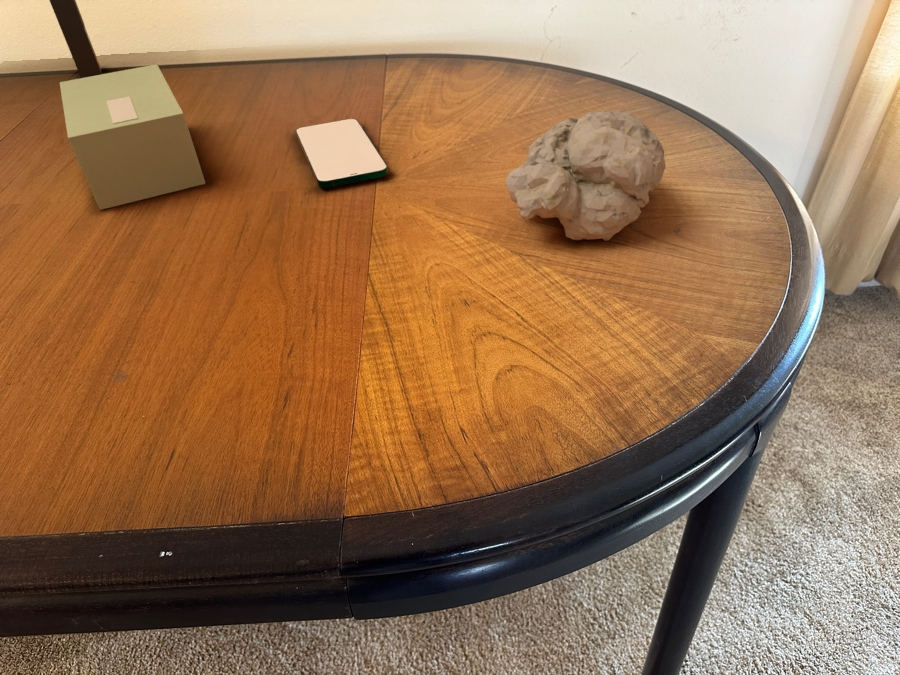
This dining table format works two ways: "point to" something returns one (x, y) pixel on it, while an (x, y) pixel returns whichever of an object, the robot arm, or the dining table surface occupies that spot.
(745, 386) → the dining table surface
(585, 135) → the mineral
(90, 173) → the tissue box
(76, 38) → the bar
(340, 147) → the smartphone
